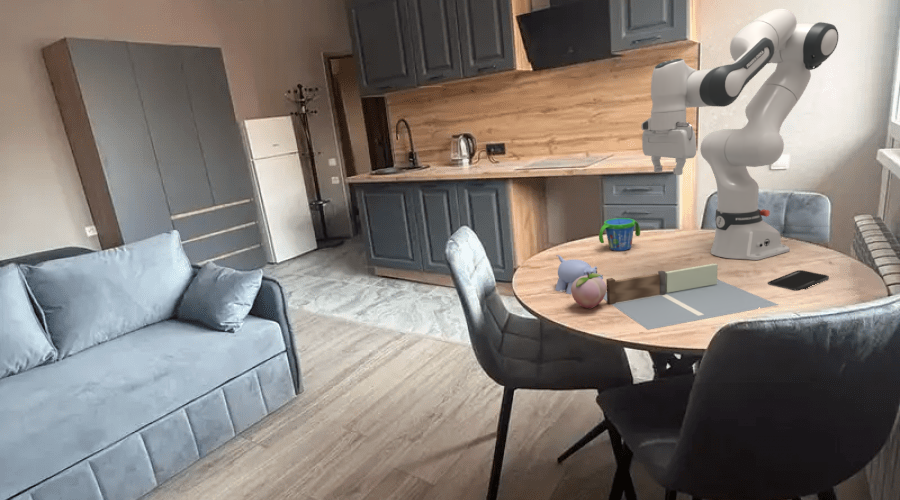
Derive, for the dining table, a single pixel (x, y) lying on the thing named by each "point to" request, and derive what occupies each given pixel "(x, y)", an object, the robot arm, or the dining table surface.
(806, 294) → the dining table surface
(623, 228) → the snack cup
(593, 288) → the decorative fruit
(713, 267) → the fence gate
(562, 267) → the hippopotamus toy
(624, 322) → the dining table surface
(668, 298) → the board
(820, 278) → the phone
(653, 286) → the fence fixed
